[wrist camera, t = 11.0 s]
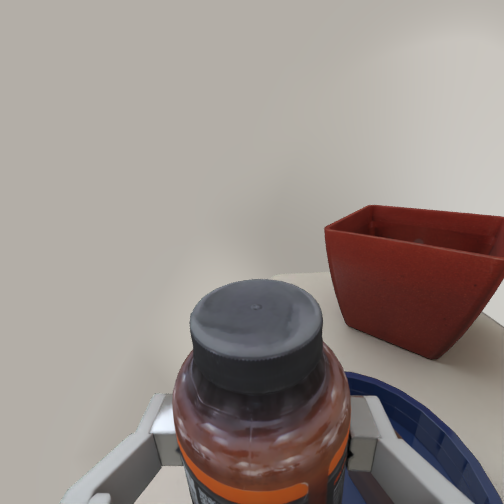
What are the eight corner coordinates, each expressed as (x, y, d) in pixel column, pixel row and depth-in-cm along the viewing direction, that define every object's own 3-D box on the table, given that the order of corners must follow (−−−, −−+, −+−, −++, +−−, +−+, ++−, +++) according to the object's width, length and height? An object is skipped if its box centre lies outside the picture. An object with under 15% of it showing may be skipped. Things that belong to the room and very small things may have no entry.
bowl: (337, 838, 10) (346, 827, 9) (225, 433, 26) (221, 405, 24) (565, 586, 16) (592, 554, 15) (361, 377, 31) (364, 351, 30)
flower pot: (467, 395, 28) (517, 258, 22) (315, 327, 41) (321, 227, 35) (477, 316, 42) (510, 216, 35) (359, 283, 54) (369, 204, 48)
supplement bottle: (313, 442, 14) (324, 261, 10) (361, 620, 9) (423, 379, 5) (209, 451, 14) (179, 271, 10) (192, 640, 9) (111, 405, 5)
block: (386, 535, 18) (394, 503, 17) (347, 474, 22) (352, 443, 20) (425, 507, 19) (437, 475, 18) (383, 454, 23) (389, 424, 21)
